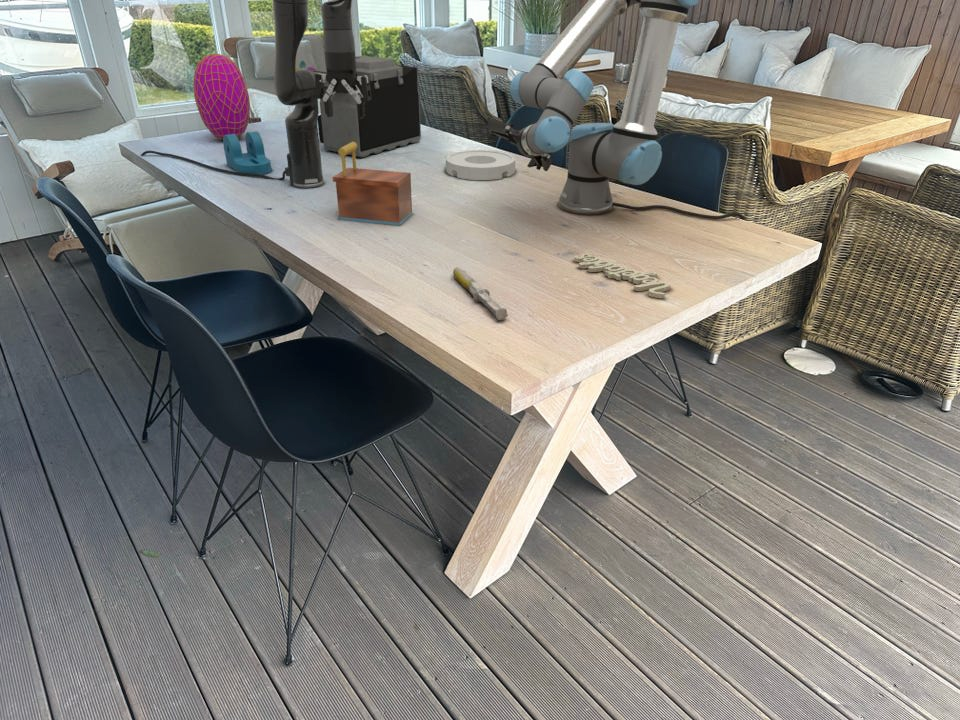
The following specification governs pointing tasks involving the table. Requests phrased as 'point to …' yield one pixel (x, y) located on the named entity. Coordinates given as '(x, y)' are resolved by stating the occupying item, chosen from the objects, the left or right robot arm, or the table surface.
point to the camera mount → (246, 154)
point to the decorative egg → (221, 96)
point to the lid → (367, 172)
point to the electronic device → (374, 110)
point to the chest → (374, 203)
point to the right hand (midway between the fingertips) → (510, 148)
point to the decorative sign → (625, 274)
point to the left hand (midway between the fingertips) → (345, 117)
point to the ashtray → (480, 164)
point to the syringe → (479, 293)
